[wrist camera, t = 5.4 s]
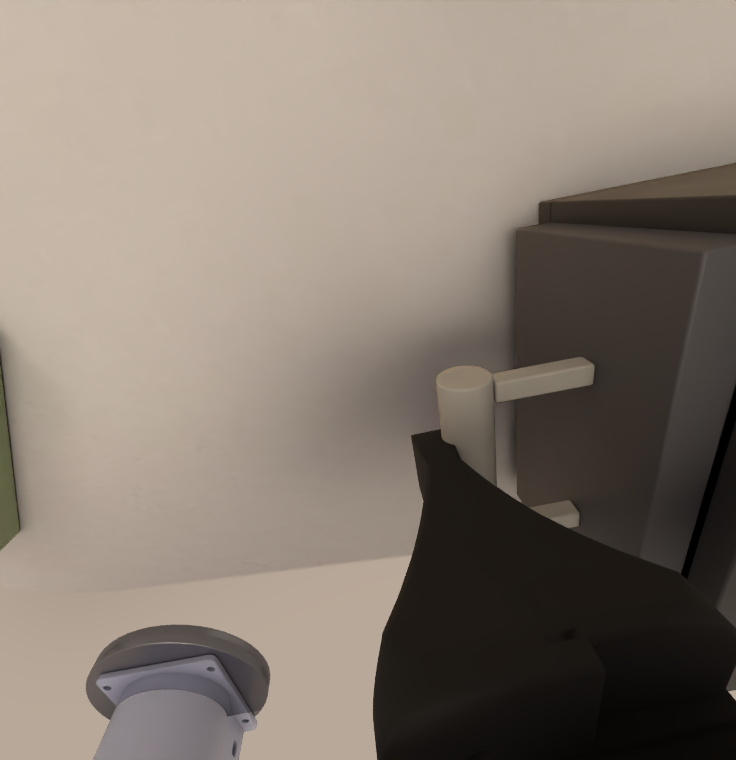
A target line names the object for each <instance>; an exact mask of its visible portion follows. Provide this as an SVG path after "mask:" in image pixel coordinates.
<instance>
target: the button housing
mask: <svg viewBox="0 0 736 760" xmlns="http://www.w3.org/2000/svg"><path fill="white" fill-rule="evenodd" d="M19 531H20V529H19V521H18V512H17V503H16V495H15V486H14V477H13V469H12V460H11V451H10V443H9V434H8V425H7V417H6V408H5V399H4V391H3V382H2V373H1V365H0V551H1V550H2V549H3V548H4V547H5V546H6V545H7V544H8V543H9V542H10V541H11V540H12V539H13V538H14V537H15V536H16V535H17V534H18V533H19Z"/></svg>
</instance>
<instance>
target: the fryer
mask: <svg viewBox="0 0 736 760" xmlns="http://www.w3.org/2000/svg"><path fill="white" fill-rule="evenodd" d="M550 222H554V223H569V224H585V225H601V226H616V227H632V228H648V229H664V230H679V231H695V232H711V233H727V234H736V163H734V164H729V165H724V166H719V167H714V168H709V169H703V170H698V171H693V172H688V173H683V174H678V175H673V176H668V177H663V178H658V179H653V180H648V181H643V182H638V183H633V184H628V185H623V186H618V187H613V188H608V189H603V190H598V191H593V192H588V193H582V194H577V195H572V196H567V197H562V198H557V199H552V200H547V201H542V202H541V203H540V210H539V225H540V224H545V223H550ZM687 580H688V581H689V582H690V583H691V584H692V585H693V586H694V587H695V588H697V589H698V590H699V591H700V592H701V593H702V594H703V595H704V596H705V597H706V598H707V599H708V600H709V601H710V602H711V603H712V604H713V605H714V606H715V607H716V608H717V609H718V610H719V611H720V612H721V613H722V615H723V616H724V617H725V618H726V619H727V620H728V621H729V622H730V623H731V624H732V625H733V626H734V627H735V628H736V420H735V423H734V426H733V429H732V433H731V436H730V439H729V443H728V446H727V449H726V453H725V456H724V459H723V462H722V466H721V469H720V472H719V476H718V479H717V482H716V486H715V489H714V492H713V495H712V499H711V502H710V505H709V509H708V512H707V515H706V518H705V522H704V525H703V528H702V532H701V535H700V538H699V542H698V545H697V548H696V551H695V555H694V558H693V561H692V565H691V568H690V571H689V574H688V578H687ZM726 690H727V691H732V690H736V666H735V669H734V671H733V673H732V676H731V678H730V680H729V683H728V685H727V687H726Z"/></svg>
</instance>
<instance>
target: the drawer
mask: <svg viewBox="0 0 736 760" xmlns="http://www.w3.org/2000/svg"><path fill="white" fill-rule="evenodd" d="M516 305H517V369H513V370H508V371H503V372H498V373H493V374H491V372H490V371H488V370H487V369H485V368H482V367H478V366H457V367H452V368H449V369H446V370H444V371H442V372H441V373H440V374H438V376H437V378H436V390H437V399H438V408H439V417H440V426H441V435H442V439H443V440H444V441H445V442H447V443H449V444H453V445H455V446H456V449H457V451H458V453H459V456H460V458H461V459H462V460H463V461H464V462H465V463H467V464H468V465H469V466H470V467H471V468H473V469H474V470H475V471H476V472H477V473H479V474H480V475H481V476H483V477H484V478H485V479H487V480H488V481H489V482H491V483H492V484H494V485H495V486H496V487H497V482H496V453H495V423H494V400H495V401H496V402H497V403H500V402H505V401H510V400H515V399H517V495H518V496H519V498H520V499H521V501H522V503H523V504H524V505H525V506H527V507H529V508H531V509H532V510H534V511H536V512H538V513H539V514H541V515H543V516H545V517H547V518H549V519H551V520H553V521H555V522H557V523H559V524H561V525H563V526H565V527H567V528H569V529H571V530H573V531H575V532H577V533H579V534H582V535H584V536H586V537H588V538H591V539H593V540H595V541H598V542H600V543H602V544H605V545H607V546H610V547H612V548H614V549H617V550H619V551H622V552H625V553H627V554H630V555H633V556H636V557H638V558H641V559H644V560H647V561H649V562H652V563H655V564H658V565H661V566H663V567H666V568H669V569H672V570H674V571H677V572H679V573H680V574H681V575H682V576H683V577H684V578H685V579H686V580H687V578H688V574H689V571H690V568H691V565H692V561H693V558H694V555H695V551H696V548H697V545H698V542H699V538H700V535H701V532H702V528H703V525H704V522H705V518H706V515H707V512H708V509H709V505H710V502H711V499H712V495H713V492H714V489H715V486H716V482H717V479H718V476H719V472H720V469H721V466H722V462H723V459H724V456H725V453H726V449H727V446H728V443H729V439H730V436H731V433H732V429H733V426H734V423H735V420H736V234H727V233H711V232H695V231H679V230H664V229H648V228H632V227H616V226H601V225H585V224H569V223H554V222H550V223H545V224H540V225H535V226H530V227H525V228H520V229H517V231H516Z"/></svg>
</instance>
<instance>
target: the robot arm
mask: <svg viewBox="0 0 736 760" xmlns="http://www.w3.org/2000/svg"><path fill="white" fill-rule="evenodd" d="M411 438H412V444H413V450H414V456H415V462H416V468H417V474H418V480H419V486H420V490H421V494H422V497H423V501H424V503H423V509H422V515H421V521H420V526H419V530H418V535H417V539H416V543H415V547H414V551H413V554H412V558H411V561H410V564H409V567H408V570H407V573H406V576H405V579H404V582H403V585H402V588H401V591H400V593H399V596H398V598H397V601H396V603H395V605H394V608H393V610H392V612H391V615H390V617H389V620H388V622H387V624H386V626H385V629H384V631H383V634H382V641H381V646H380V652H379V657H378V663H377V670H376V677H375V686H374V697H373V722H374V731H375V741H376V751H377V760H736V700H735V699H734V698H733V697H732V696H731V694H730V693H729V692H728V691H727V690H726V687H727V685H728V683H729V680H730V678H731V676H732V673H733V671H734V669H735V666H736V628H735V627H734V626H733V625H732V624H731V623H730V622H729V621H728V620H727V619H726V618H725V617H724V616H723V615H722V613H721V612H720V611H719V610H718V609H717V608H716V607H715V606H714V605H713V604H712V603H711V602H710V601H709V600H708V599H707V598H706V597H705V596H704V595H703V594H702V593H701V592H700V591H699V590H698V589H697V588H695V587H694V586H693V585H692V584H691V583H690V582H689V581H688V580H686V579H685V578H684V577H683V576H682V575H681V574H680V573H679V572H677V571H674V570H672V569H669V568H666V567H663V566H661V565H658V564H655V563H652V562H649V561H647V560H644V559H641V558H638V557H636V556H633V555H630V554H627V553H625V552H622V551H619V550H617V549H614V548H612V547H610V546H607V545H605V544H602V543H600V542H598V541H595V540H593V539H591V538H588V537H586V536H584V535H582V534H579V533H577V532H575V531H573V530H571V529H569V528H567V527H565V526H563V525H561V524H559V523H557V522H555V521H553V520H551V519H549V518H547V517H545V516H543V515H541V514H539V513H538V512H536V511H534V510H532V509H531V508H529V507H527V506H525V505H524V504H522V503H521V502H519V501H517V500H516V499H514V498H513V497H511V496H509V495H508V494H506V493H505V492H503V491H502V490H501V489H499V488H498V487H496V486H495V485H494V484H492V483H491V482H489V481H488V480H487V479H485V478H484V477H483V476H481V475H480V474H479V473H477V472H476V471H475V470H474V469H473V468H471V467H470V466H469V465H468V464H467V463H465V462H464V461H463V460H462V459H461V458H460V456H459V453H458V451H457V449H456V446H455V445H453V444H449V443H447V442H445V441H444V440H443V439H442V435H441V429H439V430H434V431H429V432H425V433H420V434H415V435H411ZM96 685H97V686H98V687H99V688H100V689H101V690H102V691H103V692H104V693H105V695H106V696H107V697H108V698H109V699H110V700H111V701H112V702H113V703H114V704H115V705H116V706H117V707H116V709H115V711H114V713H113V716H112V718H111V720H110V722H109V724H108V727H107V729H106V731H105V733H104V736H103V738H102V740H101V742H100V745H99V747H98V749H97V751H96V753H95V756H94V758H93V760H239V755H240V750H241V744H242V739H243V734H244V732H245V731H251V730H254V729H255V728H256V726H257V720H256V718H255V717H254V715H253V713H252V712H251V710H250V709H249V707H248V706H247V704H246V702H245V701H244V699H243V698H242V696H241V694H240V693H239V691H238V690H237V688H236V687H235V685H234V683H233V682H232V680H231V679H230V677H229V676H228V674H227V672H226V671H225V669H224V668H223V666H222V664H221V663H220V661H219V660H218V658H217V657H216V656H215V655H211V654H208V655H202V656H197V657H191V658H186V659H180V660H175V661H169V662H164V663H159V664H153V665H148V666H142V667H137V668H131V669H126V670H120V671H115V672H109V673H104V674H101V675H100V676H99V677H98V679H97V681H96Z"/></svg>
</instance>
